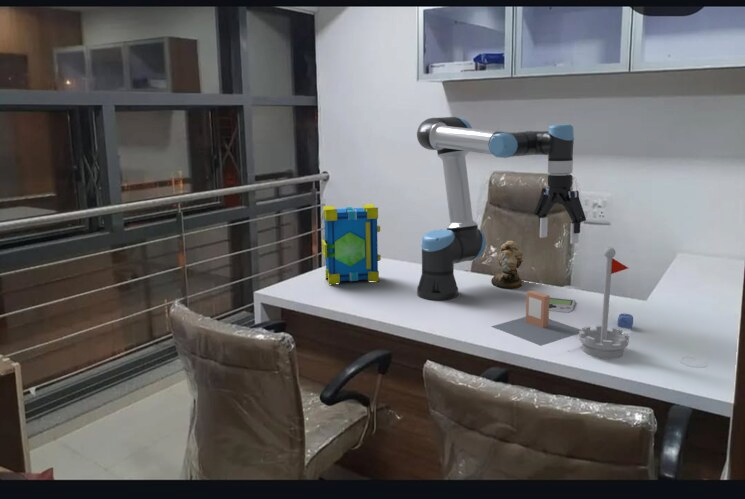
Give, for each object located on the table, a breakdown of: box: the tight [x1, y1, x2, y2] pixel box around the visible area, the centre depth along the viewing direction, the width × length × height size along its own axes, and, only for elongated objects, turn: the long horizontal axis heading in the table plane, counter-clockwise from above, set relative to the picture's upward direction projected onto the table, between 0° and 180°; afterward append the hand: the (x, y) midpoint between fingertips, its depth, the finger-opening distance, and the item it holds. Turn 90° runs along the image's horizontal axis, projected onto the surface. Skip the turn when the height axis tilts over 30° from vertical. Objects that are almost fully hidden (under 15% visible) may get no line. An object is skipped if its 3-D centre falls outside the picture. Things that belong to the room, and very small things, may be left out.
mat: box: [491, 316, 582, 347], centre depth 193 cm, size 20×20×1 cm
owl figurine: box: [490, 240, 523, 290], centre depth 244 cm, size 18×12×17 cm, turn 175°
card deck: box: [525, 290, 551, 328], centre depth 196 cm, size 7×2×10 cm, turn 34°
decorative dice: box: [617, 313, 634, 330], centre depth 195 cm, size 4×4×4 cm
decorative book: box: [321, 203, 382, 285], centre depth 249 cm, size 14×23×30 cm, turn 100°
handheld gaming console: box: [549, 296, 576, 314], centre depth 216 cm, size 10×2×15 cm
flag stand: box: [578, 247, 630, 360], centre depth 173 cm, size 13×13×30 cm
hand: (558, 240), depth 202 cm, fingers open, 13 cm apart
